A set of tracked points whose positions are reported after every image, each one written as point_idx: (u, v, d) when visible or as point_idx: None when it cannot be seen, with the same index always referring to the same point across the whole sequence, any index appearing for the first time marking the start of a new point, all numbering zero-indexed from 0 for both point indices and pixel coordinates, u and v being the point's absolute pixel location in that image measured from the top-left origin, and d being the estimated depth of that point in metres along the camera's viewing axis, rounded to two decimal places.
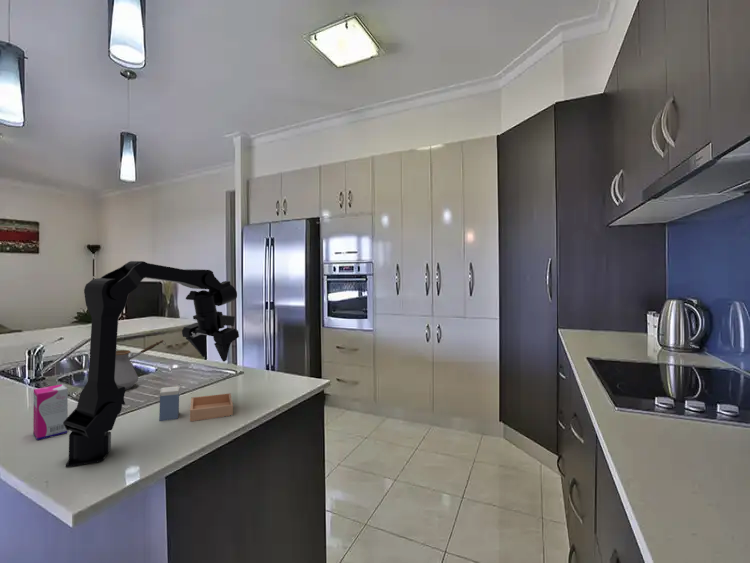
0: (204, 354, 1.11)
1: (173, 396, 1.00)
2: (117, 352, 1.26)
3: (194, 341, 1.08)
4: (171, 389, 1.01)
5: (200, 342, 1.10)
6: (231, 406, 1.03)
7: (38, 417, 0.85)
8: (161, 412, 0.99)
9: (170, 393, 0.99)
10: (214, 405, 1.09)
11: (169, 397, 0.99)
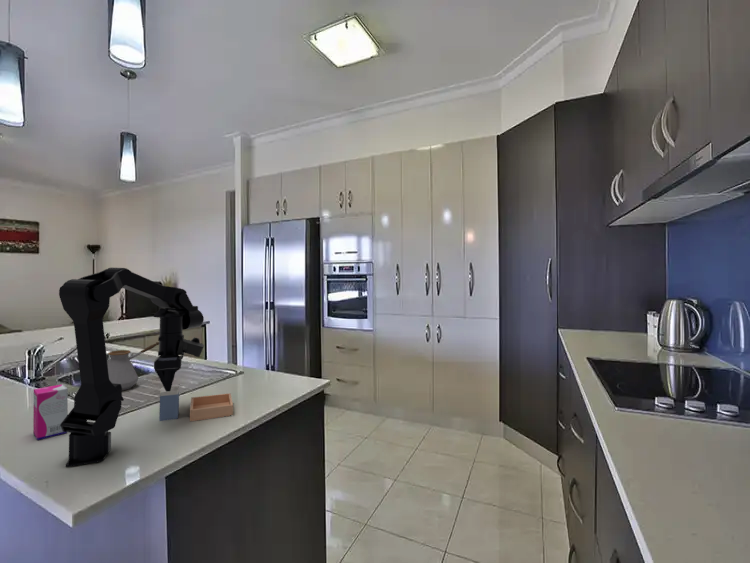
0: None
1: (173, 396, 1.00)
2: (117, 352, 1.26)
3: None
4: (171, 389, 1.01)
5: None
6: (231, 406, 1.03)
7: (38, 417, 0.85)
8: (161, 412, 0.99)
9: (170, 393, 0.99)
10: (214, 405, 1.09)
11: (169, 397, 0.99)
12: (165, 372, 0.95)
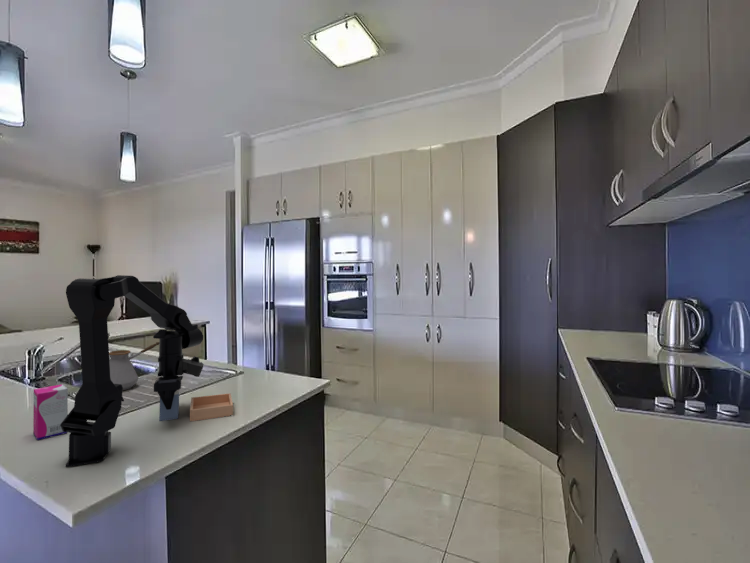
0: None
1: None
2: (117, 352, 1.26)
3: None
4: None
5: None
6: (231, 406, 1.03)
7: (38, 417, 0.85)
8: (161, 412, 0.99)
9: None
10: (214, 405, 1.09)
11: None
12: (166, 391, 0.98)
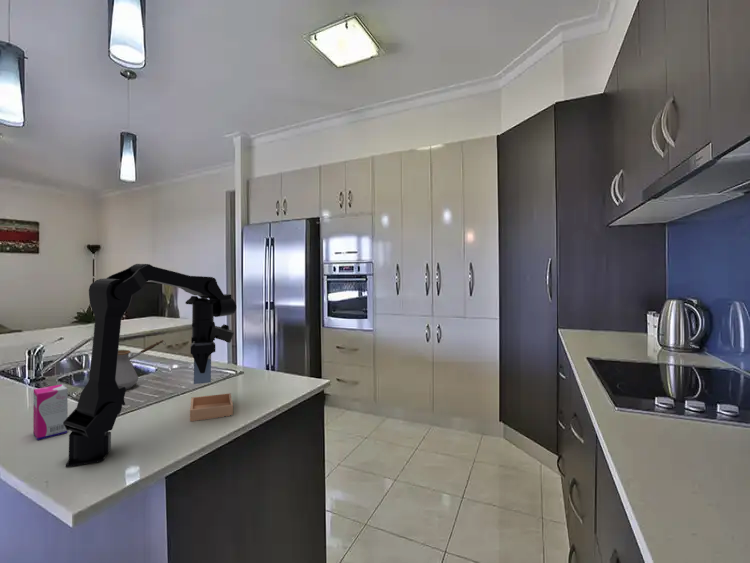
0: None
1: None
2: None
3: None
4: None
5: None
6: (231, 406, 1.03)
7: (38, 417, 0.85)
8: (196, 375, 1.02)
9: None
10: (214, 405, 1.09)
11: None
12: (200, 355, 1.01)
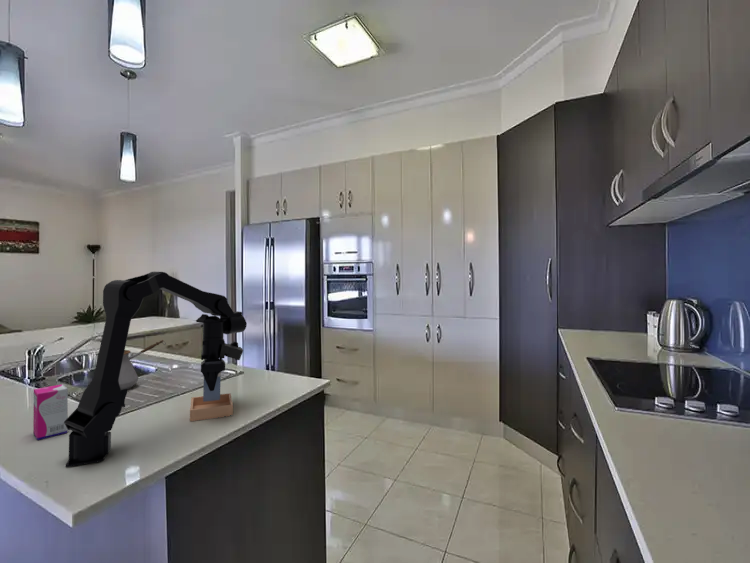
0: None
1: None
2: None
3: None
4: None
5: None
6: (231, 406, 1.03)
7: (38, 417, 0.85)
8: (205, 393, 1.03)
9: None
10: (214, 405, 1.09)
11: None
12: (209, 373, 1.02)
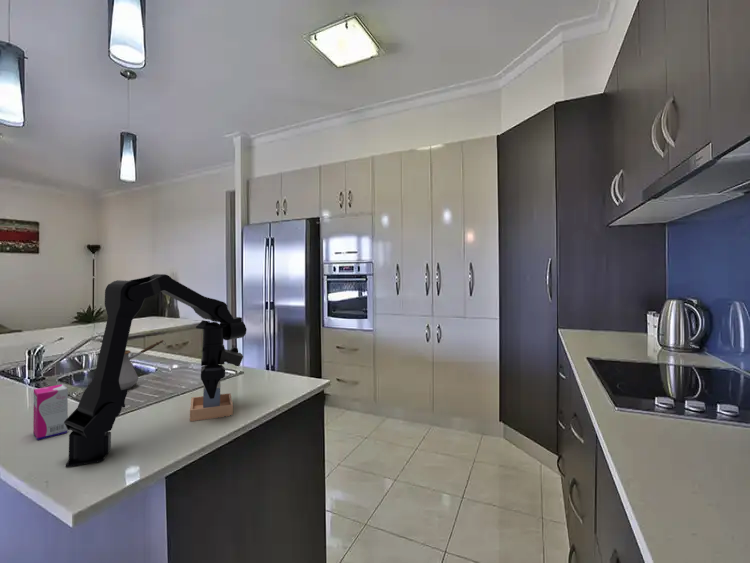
0: None
1: None
2: None
3: None
4: None
5: None
6: (231, 406, 1.03)
7: (38, 417, 0.85)
8: (205, 404, 1.03)
9: None
10: None
11: None
12: (210, 380, 1.01)
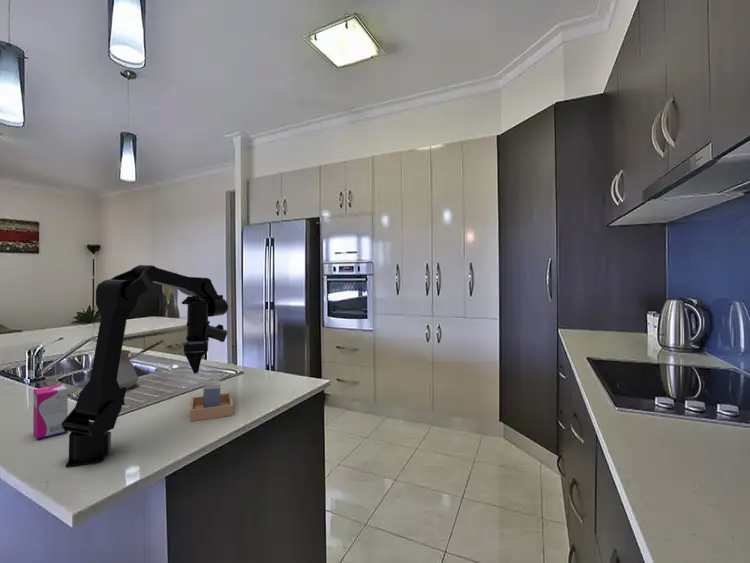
0: None
1: (215, 389, 1.04)
2: None
3: None
4: (213, 383, 1.06)
5: None
6: (231, 406, 1.03)
7: (38, 417, 0.85)
8: (205, 404, 1.03)
9: (213, 387, 1.04)
10: None
11: (212, 390, 1.04)
12: (193, 355, 1.02)
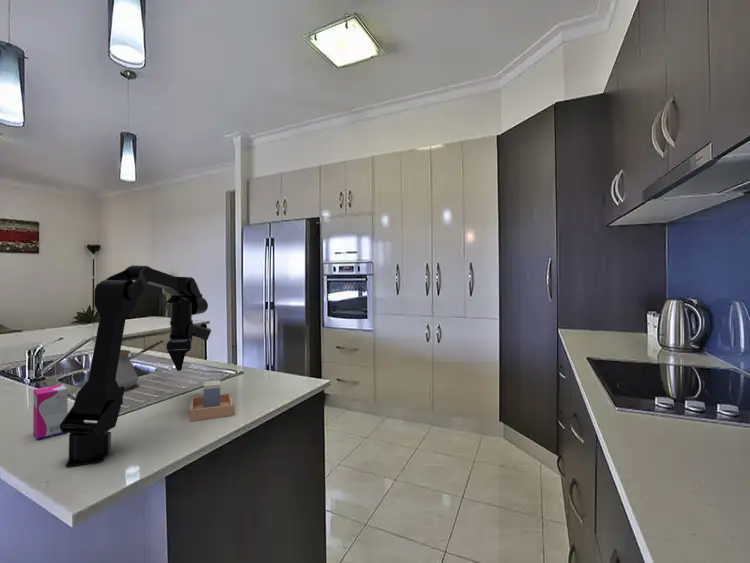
0: None
1: (215, 389, 1.04)
2: None
3: None
4: (213, 383, 1.06)
5: None
6: (231, 406, 1.03)
7: (38, 417, 0.85)
8: (205, 404, 1.03)
9: (213, 387, 1.04)
10: None
11: (212, 390, 1.04)
12: (176, 353, 1.05)
